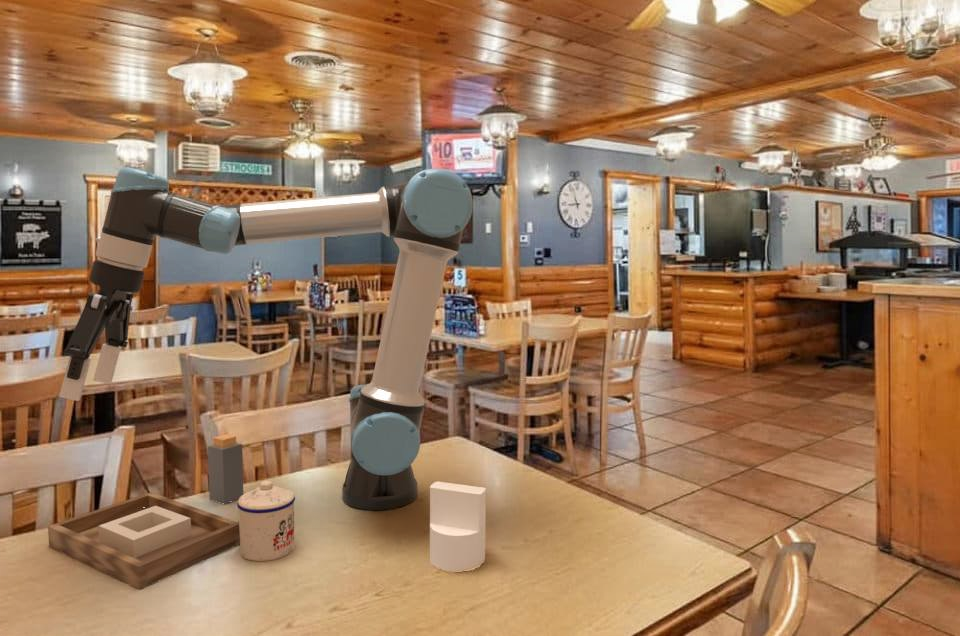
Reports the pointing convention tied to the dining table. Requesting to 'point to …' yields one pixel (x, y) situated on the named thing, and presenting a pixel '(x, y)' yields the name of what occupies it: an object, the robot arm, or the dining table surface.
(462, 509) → the cylinder with rectangular tab
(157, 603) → the dining table surface
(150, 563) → the brown wooden tray
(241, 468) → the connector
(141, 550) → the socket
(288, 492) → the teacup with lid
